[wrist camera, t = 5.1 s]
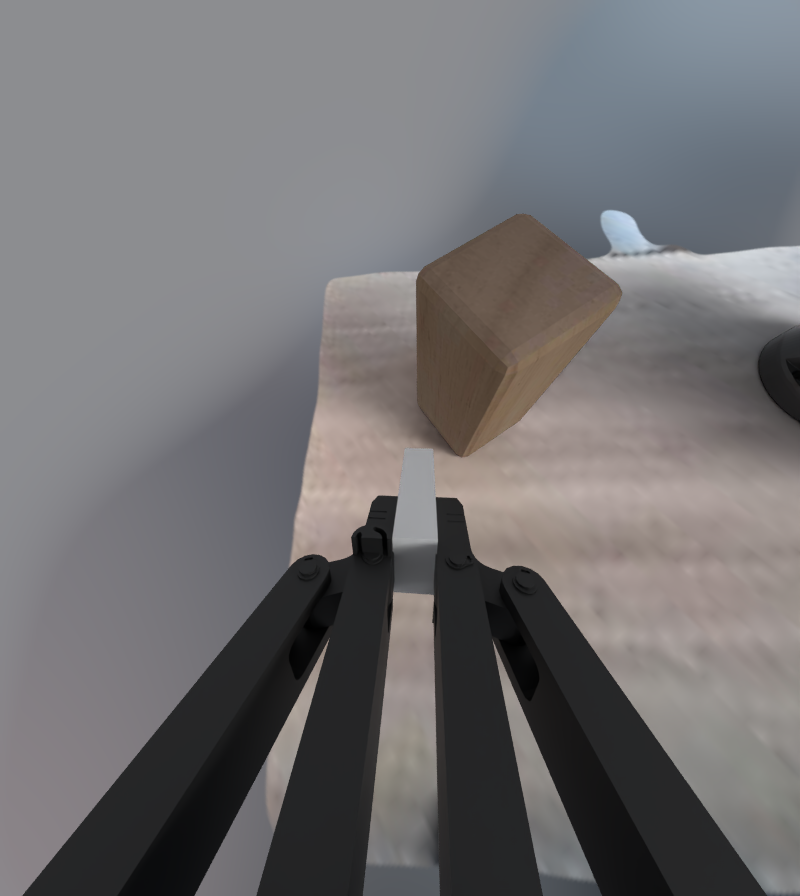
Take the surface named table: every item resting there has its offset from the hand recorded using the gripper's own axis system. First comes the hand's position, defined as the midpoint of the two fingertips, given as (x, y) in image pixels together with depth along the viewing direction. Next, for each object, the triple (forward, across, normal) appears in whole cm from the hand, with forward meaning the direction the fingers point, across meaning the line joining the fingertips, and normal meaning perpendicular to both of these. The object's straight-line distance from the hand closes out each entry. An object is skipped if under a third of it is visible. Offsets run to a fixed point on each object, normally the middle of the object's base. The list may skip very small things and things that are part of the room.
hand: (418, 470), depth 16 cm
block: (+23, +6, -4) cm, 24 cm away
